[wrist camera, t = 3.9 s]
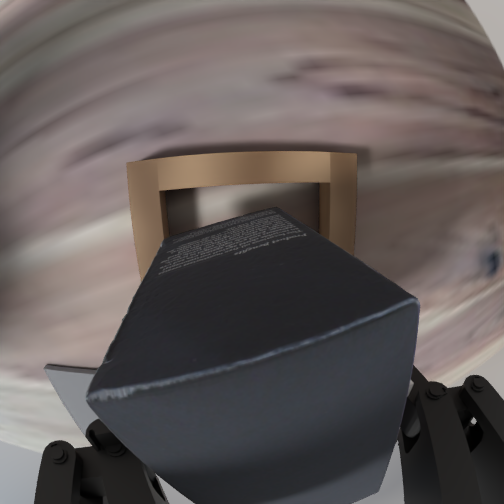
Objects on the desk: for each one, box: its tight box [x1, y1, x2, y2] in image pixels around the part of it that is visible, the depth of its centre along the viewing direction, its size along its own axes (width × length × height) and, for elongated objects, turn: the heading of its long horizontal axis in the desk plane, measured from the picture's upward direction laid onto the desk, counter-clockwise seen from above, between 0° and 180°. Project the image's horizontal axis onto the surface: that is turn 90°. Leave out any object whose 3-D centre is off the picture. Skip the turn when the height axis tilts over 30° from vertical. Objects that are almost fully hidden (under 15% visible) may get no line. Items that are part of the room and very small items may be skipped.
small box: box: [85, 207, 420, 504], centre depth 10 cm, size 11×6×10 cm, turn 15°
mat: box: [44, 365, 99, 435], centre depth 20 cm, size 10×10×1 cm
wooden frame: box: [127, 151, 357, 282], centre depth 18 cm, size 13×17×2 cm
